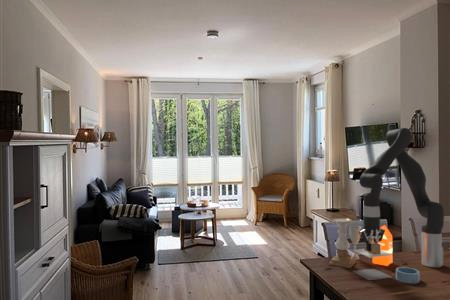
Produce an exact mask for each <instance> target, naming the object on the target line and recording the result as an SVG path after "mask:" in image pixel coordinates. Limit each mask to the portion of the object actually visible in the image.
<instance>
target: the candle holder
mask: <svg viewBox="0 0 450 300" xmlns="http://www.w3.org/2000/svg"><path fill="white" fill-rule="evenodd" d="M331 221H332V222H333V223H336V225H337V226H338V230H337V234H338V238H337V239H336V241H335V243H334V245H335V247H336V249H337V250H336V251H335V252H336V255H334V256H333V257H332V258H331V260H330V261H329V266H336V267H341V268H346V269H352V268H353V266H354V265H355V264H356V261H357V260H354V258H352V256H349V250H348V249H350V248H351V245H350V243H349V241H348V239H347V234H348V231H347V226H349V224H352V223H353V219H351V218H347V217H346V218H345V217H337V218H336V217H334V218H332V220H331Z"/></svg>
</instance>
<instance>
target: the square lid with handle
mask: <svg viewBox="0 0 450 300" xmlns="http://www.w3.org/2000/svg"><path fill="white" fill-rule="evenodd" d="M370 244H371V251H370V252H369V251H367V249H366V243H365V242H363V248H358V249H357V248H356V249H355V250H354V249H353V250H354V251H355V252H356V253H358V254H360V255H363V256H364V257H367V258H369V259H373V258H374V257H381V256H389V255H392V256H393V253H392V254H391V253H388V252H385V251H383V250H381V248H380V244H378V243H376V242H373V241H372V240H371V243H370ZM354 251H353V252H354Z"/></svg>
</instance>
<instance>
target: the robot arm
mask: <svg viewBox="0 0 450 300" xmlns="http://www.w3.org/2000/svg"><path fill="white" fill-rule="evenodd" d="M386 132H387V133H386V134H385V138H386V142H387V144H388V146H389V147H388V148H387V149H385V151H383V152H382V153H380V155H379V156H377V158H376V159H375V161H374V162H373V163H372V165H371V166H369V167H368V168H367V169H365V170H364V172H362V174H361V175H360V177H359V179H358V180H359V181H358V182H359V184H360V186H361V187H362V188H365V189H371V190H370V192H367V193H364V194H363V208H362V216H363V218H362V219H363V221H362V223H363V229H362V230H361V231H359V234H360V239H361V242H363V243H364V242H365V243H366V249H367V251H369V252H370V251H371V244H370V243H371V241H372V237H373V241H374V242H376V243H378V242H379V241H382V238H383V235H384V232H385V230H384V229H381V228H380V227H381V210H380V209H381V208H380V196H381V193H382V188H383V185H384V184H383V183H384V180H383V178H382V176H384V175H385V174H386V173H387V172H388V170H389V169H390V167H391V166H392V164H393V163H394V161H395V160H396V161H397V163H398V164H399V167H400V169H401V171H402V175H403V176H404V177H403V178H405V181H406V183H407V185H408V187H409V190H410V192H411V194H412V196H413V199H414V203H415V205H416V209H417V212H418V213H419V215H420V216H421V217H423V218H425V219H426V224H423V225H421V236H420V237H421V238H420V239H421V242H420V243H421V244H420V245H421V265H423V266H426V267H428V268H429V267H430V268H441V267H442V266H444V247H443V246H442V244H443V241H442V240H443V239H442V237H443V236H442V233H443V232H442V231H443V229H444V220H445V210H444V207H443V205H442V204H441V203H439V202H437V201H436V202H435V201H433V200H431V199H430V198H429V196H428V193H427V191H426V190H427V189H426V185H427V177H426V175H425V172H424V169H423V168H422V166H421V164H420V163H419V162H418V161H416V159H415V158H413V157H412V156H411V155H409V153H407V151H406V150H405V149H406V148H408V146H409V145H410V144H411V142H412V140H413V133H412V131H411V130H410V128H407V127H401V128H396V129H391V130H388V131H386Z"/></svg>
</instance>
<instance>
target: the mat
mask: <svg viewBox="0 0 450 300" xmlns="http://www.w3.org/2000/svg"><path fill="white" fill-rule="evenodd" d="M352 272H353V273H355V274H356V275H358V276H360V277H362V278H364V280H368V281H375V280H382V279H390V278H393V276H390V275H389V274H387V273H385V272H382V271H380V270H378V269H377V268H365V269H359V270H352Z"/></svg>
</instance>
